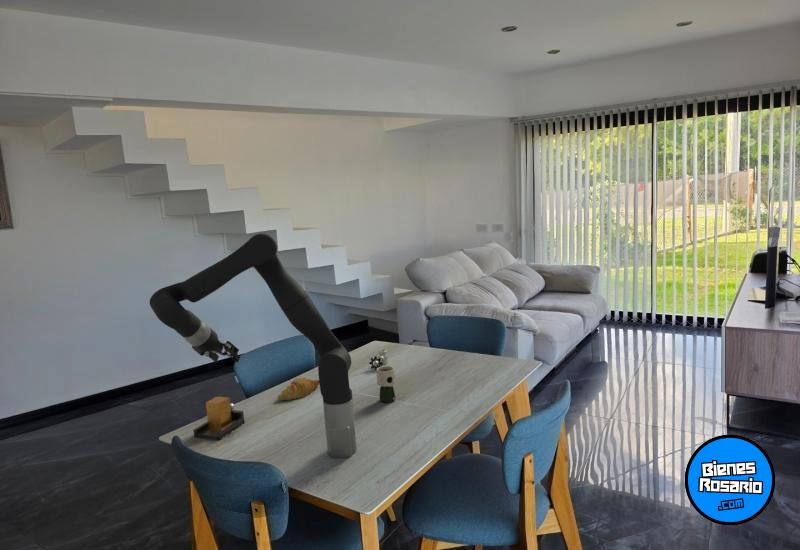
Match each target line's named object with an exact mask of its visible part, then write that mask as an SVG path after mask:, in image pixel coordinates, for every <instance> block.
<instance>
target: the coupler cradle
mask: <svg viewBox="0 0 800 550" xmlns="http://www.w3.org/2000/svg"><path fill="white" fill-rule="evenodd" d="M230 408H231V417H232V422H231V423H230V424H228V425H227V426H225V427H224V428H222V429H221V430H211V429H209V426H208V420H207V421H205V422H204V423H202V424H200V425H199V426H197V427H195V428H194V429H193V436H194V438H200V439H209V440H216V441H221V440H223V437H224V438H225V437H227V436H228V435H230V434H232V433H233V432H234V431H236V430H237V429H239V428H240V427H242V426H243V425H244V424H245V415H244V410H235V408H234V403H233V402H230ZM242 424H243V425H242ZM241 425H242V426H241ZM239 426H240V427H239ZM238 427H239V428H238ZM235 429H236V430H235ZM232 431H233V432H232ZM226 435H227V436H226ZM220 439H221V440H220Z"/></svg>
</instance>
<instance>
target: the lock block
mask: <svg viewBox="0 0 800 550" xmlns="http://www.w3.org/2000/svg"><path fill="white" fill-rule="evenodd" d="M230 403H231V401H230V397H227V396H226V397H225V396H215V397H213V398H211V399H210V400H208V401H206V402H205V408H206V416H207V421H208V426H209V429H211V430H221V429H222V428H224V427H225V426H227V425H228V424H230V423H231V422H232V417H231V408H230Z"/></svg>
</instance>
